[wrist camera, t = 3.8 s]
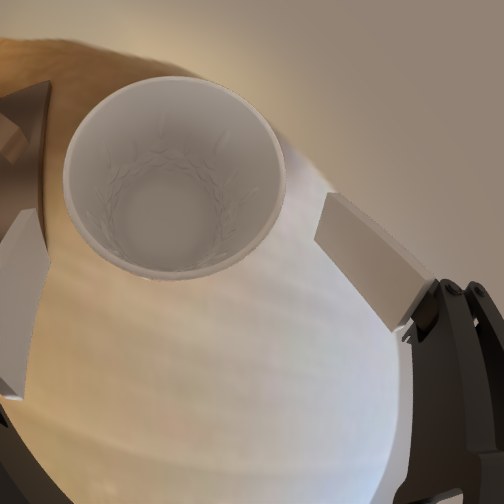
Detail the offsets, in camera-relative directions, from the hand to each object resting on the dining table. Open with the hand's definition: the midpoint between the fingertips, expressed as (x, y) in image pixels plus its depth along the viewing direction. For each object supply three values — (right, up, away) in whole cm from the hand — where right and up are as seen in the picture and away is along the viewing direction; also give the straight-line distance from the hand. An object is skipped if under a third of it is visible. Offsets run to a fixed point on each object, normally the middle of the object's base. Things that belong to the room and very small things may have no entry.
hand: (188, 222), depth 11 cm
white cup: (-3, 0, +7) cm, 7 cm away
